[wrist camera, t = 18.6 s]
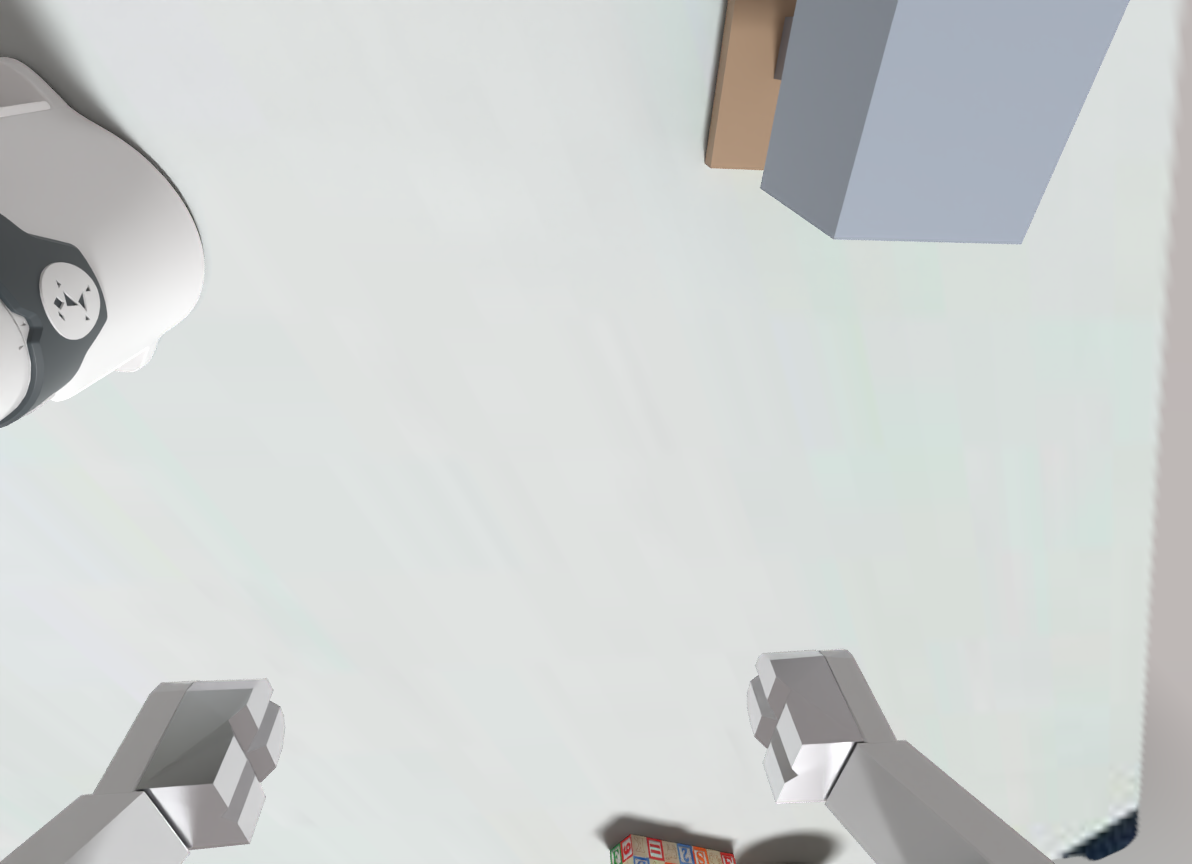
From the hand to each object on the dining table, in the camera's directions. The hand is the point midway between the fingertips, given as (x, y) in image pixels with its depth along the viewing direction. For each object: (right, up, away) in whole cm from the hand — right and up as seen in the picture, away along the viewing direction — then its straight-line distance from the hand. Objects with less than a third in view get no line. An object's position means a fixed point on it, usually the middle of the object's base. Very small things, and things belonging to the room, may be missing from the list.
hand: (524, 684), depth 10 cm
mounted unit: (+13, +27, +26) cm, 40 cm away
